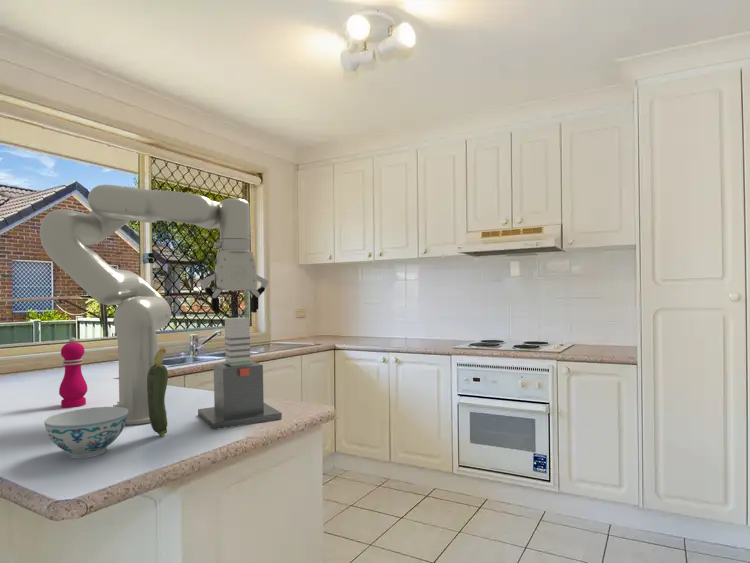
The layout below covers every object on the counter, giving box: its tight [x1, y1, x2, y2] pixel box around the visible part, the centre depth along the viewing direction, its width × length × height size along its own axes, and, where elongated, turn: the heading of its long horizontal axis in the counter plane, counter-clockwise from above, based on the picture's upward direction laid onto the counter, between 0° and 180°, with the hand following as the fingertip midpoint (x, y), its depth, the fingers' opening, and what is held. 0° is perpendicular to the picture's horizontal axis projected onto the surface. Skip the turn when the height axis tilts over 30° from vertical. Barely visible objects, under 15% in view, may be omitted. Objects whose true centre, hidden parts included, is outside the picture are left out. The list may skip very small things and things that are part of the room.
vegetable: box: [147, 347, 169, 436], centre depth 115 cm, size 4×4×20 cm
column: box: [224, 316, 251, 367], centre depth 131 cm, size 5×5×18 cm
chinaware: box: [43, 406, 128, 459], centre depth 104 cm, size 15×15×8 cm
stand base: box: [197, 360, 283, 430], centre depth 131 cm, size 17×17×14 cm
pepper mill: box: [58, 336, 89, 408], centre depth 149 cm, size 7×7×20 cm
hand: (235, 313), depth 131 cm, fingers open, 9 cm apart
